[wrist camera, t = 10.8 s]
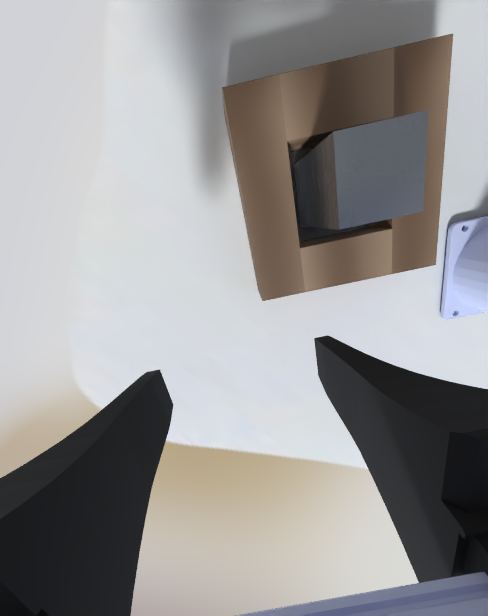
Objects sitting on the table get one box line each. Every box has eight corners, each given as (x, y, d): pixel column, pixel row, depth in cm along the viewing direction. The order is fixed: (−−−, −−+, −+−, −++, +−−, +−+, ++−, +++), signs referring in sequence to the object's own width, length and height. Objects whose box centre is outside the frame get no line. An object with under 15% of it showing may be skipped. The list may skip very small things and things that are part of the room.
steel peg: (350, 153, 17) (428, 109, 10) (353, 214, 18) (423, 211, 11) (293, 166, 17) (333, 131, 10) (300, 225, 18) (339, 229, 12)
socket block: (411, 68, 15) (453, 33, 12) (405, 258, 19) (435, 264, 16) (224, 111, 15) (222, 87, 13) (258, 289, 20) (262, 301, 17)
